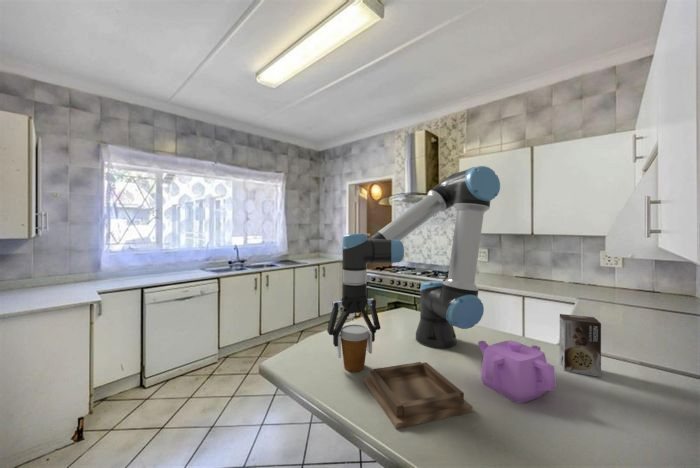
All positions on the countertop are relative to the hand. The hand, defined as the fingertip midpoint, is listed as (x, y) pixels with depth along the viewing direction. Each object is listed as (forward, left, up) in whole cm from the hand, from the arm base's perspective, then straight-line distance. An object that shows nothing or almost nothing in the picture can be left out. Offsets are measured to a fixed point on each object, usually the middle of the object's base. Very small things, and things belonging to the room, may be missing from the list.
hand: (354, 353), depth 89 cm
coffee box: (-66, +22, -4) cm, 70 cm away
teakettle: (-39, +23, -4) cm, 45 cm away
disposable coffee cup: (0, 0, -4) cm, 4 cm away
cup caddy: (-10, +19, -4) cm, 22 cm away
